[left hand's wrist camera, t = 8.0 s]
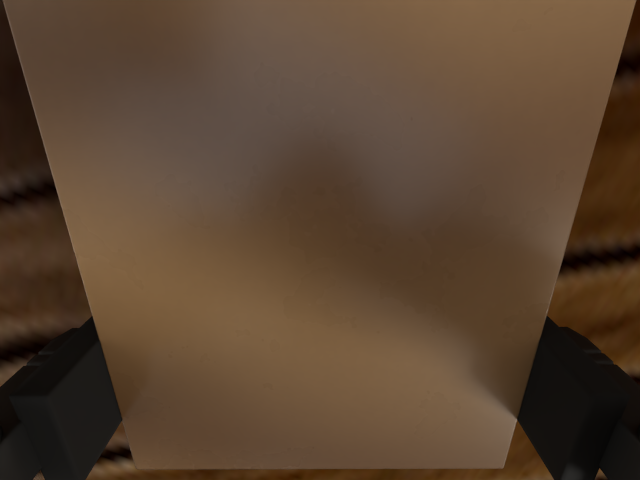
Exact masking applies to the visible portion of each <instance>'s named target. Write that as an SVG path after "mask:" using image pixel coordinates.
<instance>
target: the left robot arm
mask: <svg viewBox="0 0 640 480" xmlns="http://www.w3.org/2000/svg"><path fill="white" fill-rule="evenodd" d="M517 420H518V422H519V423H520V425H521V426H522V428H523V430H524V431H525V433H526V435H527V436H528V438H529V439H530V441H531V443H532V444H533V446H534V448H535V449H536V451H537V452H538V454H539V456H540V457H541V459H542V460H543V462H544V464H545V465H546V467H547V469H548V470H549V472H550V473H551V475H552V477H553V478H554V480H594V479H595V477H596V475H597V472H598V470H599V468H600V469H601V470H602V472H603V473H604V474H605V476H606V477H607V478H608V480H640V385H638V384H637V383H636V382H635V381H634V380H633V379H632V378H631V377H630V376H628V375H627V374H626V373H625V372H624V371H623V370H622V369H621V368H620V367H618V366H617V365H614V364H613V361H612V360H611V359H609V358H608V357H607V356H606V355H605V354H602V353H601V350H599V349H598V348H597V347H596V346H595V345H594V344H593V343H592V342H590V341H589V340H588V339H587V338H586V337H584V336H582V335H580V334H579V333H577V332H575V331H574V330H572V329H570V328H568V327H558V326H557V325H556V324H555V323H554V322H553V321H552V320H551V319H550V318H549V317H548V316H546V320H545V323H544V327H543V330H542V334H541V337H540V341H539V344H538V348H537V351H536V355H535V358H534V362H533V366H532V369H531V373H530V376H529V380H528V383H527V387H526V390H525V394H524V397H523V401H522V404H521V408H520V411H519V415H518V418H517ZM121 421H122V418H121V414H120V411H119V407H118V404H117V400H116V397H115V393H114V390H113V386H112V383H111V379H110V376H109V372H108V369H107V365H106V362H105V358H104V355H103V351H102V348H101V344H100V341H99V337H98V334H97V330H96V327H95V323H94V320H93V316H92V317H91V318H90V319H89V320H88V321H86V322H85V323H84V324H83V325H82V326H81V327H80V328H72V329H70V330H69V331H67V332H65V333H63V334H62V335H60V336H58V337H56V338H55V339H53V340H52V341H51V342H50V343H49V344H48V345H46V346H45V347H44V348H43V349H42V350H41V351H40V352H39V355H35V356H34V357H33V358H32V359H31V360H30V361H29V362H28V363H27V365H26V366H23V367H22V368H21V369H20V370H19V371H18V372H16V373H15V374H14V375H13V376H12V377H11V378H10V379H9V380H8V381H6V382H5V383H4V384H3V385H2V386H1V387H0V480H33V478H34V477H35V476H36V474H37V473H38V472H39V470H40V469H41V471H42V474H43V476H44V478H45V480H85V479H86V478H87V476H88V474H89V473H90V471H91V470H92V468H93V466H94V465H95V463H96V461H97V460H98V458H99V457H100V455H101V453H102V452H103V450H104V448H105V447H106V445H107V444H108V442H109V440H110V439H111V437H112V435H113V434H114V432H115V431H116V429H117V427H118V426H119V424H120V422H121Z"/></svg>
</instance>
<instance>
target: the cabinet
mask: <svg viewBox="0 0 640 480" xmlns="http://www.w3.org/2000/svg"><path fill="white" fill-rule="evenodd" d="M635 2H636V0H3V4H4V7H5V11H6V14H7V18H8V21H9V25H10V28H11V32H12V35H13V39H14V42H15V46H16V49H17V53H18V56H19V60H20V63H21V67H22V70H23V74H24V77H25V81H26V84H27V88H28V92H29V95H30V99H31V102H32V106H33V109H34V113H35V116H36V120H37V123H38V127H39V130H40V134H41V137H42V141H43V144H44V148H45V151H46V155H47V158H48V162H49V165H50V169H51V172H52V176H53V179H54V183H55V186H56V190H57V193H58V197H59V200H60V204H61V207H62V211H63V214H64V218H65V221H66V225H67V228H68V232H69V235H70V239H71V242H72V246H73V249H74V253H75V256H76V260H77V263H78V267H79V270H80V274H81V277H82V281H83V284H84V288H85V291H86V295H87V299H88V302H89V306H90V309H91V313H92V316H93V320H94V323H95V327H96V330H97V334H98V337H99V341H100V344H101V348H102V351H103V355H104V358H105V362H106V365H107V369H108V372H109V376H110V379H111V383H112V386H113V390H114V393H115V397H116V400H117V404H118V407H119V411H120V414H121V418H122V421H123V425H124V428H125V432H126V435H127V439H128V442H129V446H130V449H131V453H132V456H133V460H134V463H135V467H136V469H485V468H504V464H505V461H506V457H507V454H508V450H509V447H510V443H511V440H512V436H513V433H514V429H515V425H516V422H517V418H518V415H519V411H520V408H521V404H522V401H523V397H524V394H525V390H526V387H527V383H528V380H529V376H530V373H531V369H532V366H533V362H534V358H535V355H536V351H537V348H538V344H539V341H540V337H541V334H542V330H543V327H544V323H545V320H546V316H547V313H548V309H549V306H550V302H551V299H552V295H553V291H554V288H555V284H556V281H557V277H558V274H559V270H560V267H561V263H562V260H563V256H564V253H565V249H566V246H567V242H568V239H569V235H570V232H571V228H572V224H573V221H574V217H575V214H576V210H577V207H578V203H579V200H580V196H581V193H582V189H583V186H584V182H585V179H586V175H587V172H588V168H589V165H590V161H591V157H592V154H593V150H594V147H595V143H596V140H597V136H598V133H599V129H600V126H601V122H602V119H603V115H604V112H605V108H606V105H607V101H608V98H609V94H610V91H611V87H612V83H613V80H614V76H615V73H616V69H617V66H618V62H619V59H620V55H621V52H622V48H623V45H624V41H625V38H626V34H627V31H628V27H629V24H630V20H631V16H632V13H633V9H634V6H635Z"/></svg>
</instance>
